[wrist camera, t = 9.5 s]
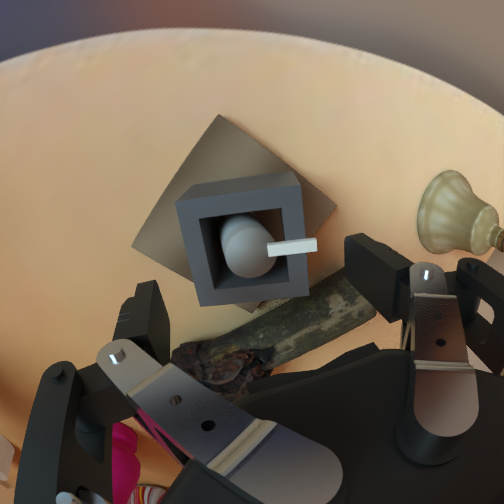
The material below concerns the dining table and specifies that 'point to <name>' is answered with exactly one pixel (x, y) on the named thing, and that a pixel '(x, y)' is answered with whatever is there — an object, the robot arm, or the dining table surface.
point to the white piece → (5, 457)
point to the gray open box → (288, 251)
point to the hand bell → (457, 218)
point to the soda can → (146, 494)
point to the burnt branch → (275, 337)
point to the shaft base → (216, 167)
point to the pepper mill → (124, 463)
